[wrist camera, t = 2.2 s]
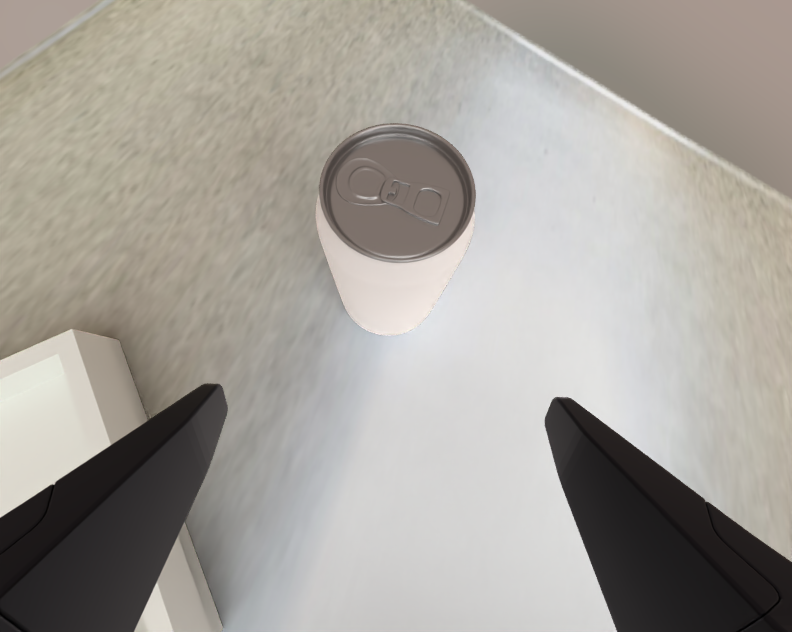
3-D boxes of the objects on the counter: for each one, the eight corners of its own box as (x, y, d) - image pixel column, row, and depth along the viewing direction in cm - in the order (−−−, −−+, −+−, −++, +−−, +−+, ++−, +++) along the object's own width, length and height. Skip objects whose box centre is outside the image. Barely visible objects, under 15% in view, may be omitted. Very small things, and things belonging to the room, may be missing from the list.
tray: (223, 628, 19) (189, 678, 15) (-55, 798, 17) (-166, 899, 13) (118, 339, 22) (72, 328, 19) (-124, 449, 20) (-227, 459, 17)
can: (360, 236, 25) (345, 91, 13) (446, 265, 25) (507, 144, 13) (327, 318, 23) (276, 237, 12) (418, 350, 23) (458, 300, 11)
